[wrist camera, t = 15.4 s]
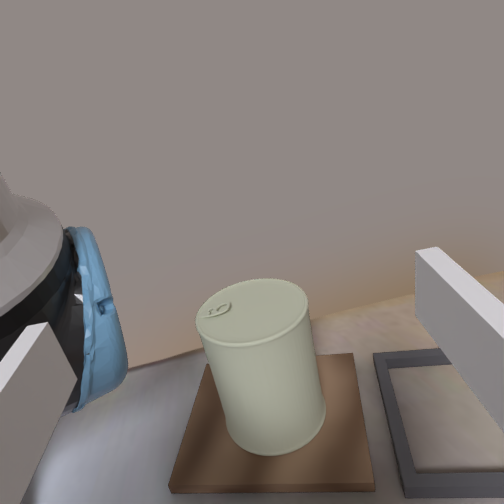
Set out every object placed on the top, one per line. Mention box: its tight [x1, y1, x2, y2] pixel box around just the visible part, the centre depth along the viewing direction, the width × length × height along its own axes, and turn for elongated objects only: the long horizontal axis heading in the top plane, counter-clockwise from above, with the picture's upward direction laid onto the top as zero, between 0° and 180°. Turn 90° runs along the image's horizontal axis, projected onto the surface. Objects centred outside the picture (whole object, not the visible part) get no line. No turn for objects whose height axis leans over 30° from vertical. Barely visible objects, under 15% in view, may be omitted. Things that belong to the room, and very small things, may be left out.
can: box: [195, 278, 326, 456], centre depth 33 cm, size 9×9×12 cm
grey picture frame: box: [373, 348, 504, 498], centre depth 33 cm, size 14×14×1 cm
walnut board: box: [168, 353, 375, 493], centre depth 36 cm, size 16×14×1 cm
